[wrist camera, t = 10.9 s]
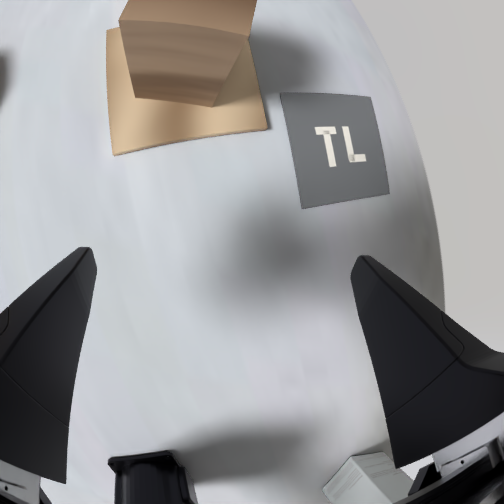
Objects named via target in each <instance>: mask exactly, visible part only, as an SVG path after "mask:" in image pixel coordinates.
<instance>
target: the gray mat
mask: <svg viewBox="0 0 504 504" xmlns="http://www.w3.org/2000/svg"><path fill="white" fill-rule="evenodd" d="M280 97H281V102H282V106H283V111H284V116H285V120H286V125H287V130H288V135H289V140H290V145H291V150H292V155H293V161H294V166H295V171H296V177H297V183H298V188H299V194H300V200H301V206H302V209H306V208H311V207H317V206H322V205H328V204H333V203H339V202H344V201H350V200H356V199H362V198H368V197H374V196H380V195H386V194H390V192H389V185H388V178H387V172H386V166H385V160H384V155H383V149H382V144H381V139H380V135H379V130H378V125H377V121H376V117H375V113H374V109H373V105H372V101H371V97H366V96H356V95H344V94H327V93H280Z"/></svg>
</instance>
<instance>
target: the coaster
mask: <svg viewBox="0 0 504 504" xmlns="http://www.w3.org/2000/svg"><path fill="white" fill-rule="evenodd" d="M106 76H107V99H108V113H109V125H110V135H111V144H112V153H113V155H114V156H118V155H122V154H126V153H130V152H134V151H138V150H143V149H147V148H152V147H156V146H161V145H166V144H171V143H177V142H182V141H188V140H194V139H200V138H206V137H213V136H220V135H228V134H236V133H244V132H254V131H264V130H266V129H267V123H266V118H265V113H264V108H263V103H262V99H261V94H260V89H259V85H258V80H257V75H256V71H255V67H254V62H253V58H252V54H251V49H250V45H249V41H248V39H247V41H246V43H245V44H244V46H243V48H242V50H241V52H240V53H239V55H238V57H237V59H236V61H235V63H234V64H233V66H232V68H231V70H230V72H229V74H228V76H227V78H226V80H225V82H224V84H223V86H222V88H221V90H220V92H219V94H218V96H217V98H216V100H215V102H214V104H213V106H212V108H211V107H205V106H199V105H192V104H185V103H178V102H170V101H162V100H152V99H141V98H135V95H134V91H133V87H132V82H131V78H130V74H129V70H128V65H127V61H126V56H125V51H124V46H123V41H122V36H121V31H120V27H117V28H113V29H109V30H107V36H106Z"/></svg>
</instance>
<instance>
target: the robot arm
mask: <svg viewBox="0 0 504 504" xmlns="http://www.w3.org/2000/svg"><path fill="white" fill-rule="evenodd" d="M96 275H97V266H96V262H95V259H94V255H93V251H92V249H91V248H90V247H79V248H77V249H76V250H75V251H73V252H72V253H71V254H70V255H68V256H67V257H66V258H64V259H63V260H62V261H61V262H59V263H58V264H57V265H56V266H54V267H53V268H52V269H51V270H49V271H48V272H47V273H46V274H45V275H43V276H42V277H41V278H40V279H39V280H37V281H36V282H35V283H34V284H33V285H31V286H30V287H29V288H28V289H27V290H26V291H25V292H23V293H22V294H21V295H20V296H19V297H18V298H17V299H16V300H14V301H13V302H12V303H11V304H10V305H9V307H7V308H6V309H5V310H4V311H3V312H2V313H0V504H52V503H51V502H50V500H49V499H48V497H47V496H46V494H45V493H44V492H43V490H42V489H41V487H40V479H41V477H44V478H47V479H50V480H53V481H56V482H60V483H63V484H66V471H67V447H68V433H69V428H68V427H69V421H70V412H71V404H72V397H73V390H74V384H75V378H76V373H77V367H78V362H79V357H80V352H81V347H82V343H83V339H84V334H85V330H86V326H87V322H88V318H89V314H90V309H91V303H92V297H93V291H94V285H95V280H96ZM351 283H352V288H353V292H354V297H355V302H356V307H357V311H358V316H359V319H360V323H361V326H362V329H363V332H364V336H365V339H366V343H367V346H368V350H369V353H370V357H371V361H372V364H373V368H374V372H375V376H376V380H377V384H378V388H379V392H380V396H381V400H382V404H383V409H384V413H385V418H386V423H387V428H388V433H389V438H390V443H391V448H392V454H393V460H394V465H395V469H398V468H400V467H403V466H406V465H408V464H411V463H413V462H415V461H418V460H420V459H422V458H424V457H426V456H429V455H431V454H432V456H433V460H434V462H432V463H430V464H429V465H427V466H425V467H423V468H421V469H419V472H418V474H417V476H416V478H415V480H414V482H413V484H412V487H411V489H410V491H409V493H408V497H406V498H404V499H402V500H399V501H397V502H395V503H393V504H504V353H501V352H497V351H494V350H493V349H491V348H489V347H488V346H487V345H485V344H484V343H482V342H481V341H480V340H479V339H477V338H476V337H474V336H473V335H472V334H471V333H469V332H468V331H467V330H465V329H464V328H463V327H461V326H460V325H459V324H458V323H456V322H455V321H454V320H453V319H451V318H450V317H449V316H448V315H446V314H445V313H444V312H443V311H440V309H439V308H438V307H437V306H435V305H434V304H433V303H432V302H430V301H429V300H428V299H427V298H425V297H424V296H423V295H422V294H420V293H419V292H418V291H416V290H415V289H414V288H413V287H411V286H410V285H409V284H407V283H406V282H405V281H403V280H402V279H401V278H399V277H398V276H397V275H395V274H394V273H393V272H391V271H390V270H389V269H387V268H386V267H385V266H383V265H382V264H381V263H379V262H378V261H377V260H375V259H374V258H372V257H371V256H368V255H361V256H359V257H358V258H357V260H356V262H355V265H354V267H353V269H352V272H351ZM167 456H169V457H167ZM108 465H109V466H110V468H111V469H112V470H113V471H114V472H115V474H116V476H115V501H114V504H198V501H197V497H196V493H195V488H194V484H193V480H192V478H191V477H190V475H189V474H188V472H187V470H186V469H185V467H183V466H180V465H179V463H178V462H177V460H176V458H175V457H174V455H173V454H172V453H171V452H161V453H155V454H148V455H140V456H132V457H122V458H111V459H108Z"/></svg>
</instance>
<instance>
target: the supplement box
mask: <svg viewBox="0 0 504 504" xmlns="http://www.w3.org/2000/svg"><path fill="white" fill-rule="evenodd" d="M413 482H414V481H413V480H412V479H411V478H410V477H409V476H408V475H407V474H406V473H405V472H404V471H402V470H401V469H400V468H398V469H395V465H394V462H393V461H392V460H391V459H390V458H389V457H388V456H387V455H386V454H385V453H384V452H379V453H373V454H366V455H359V456H351V457H350V458H349V459H348V460H347V461H346V463H345V464H344V465H343V466H342V467H341V468H340V470H339V471H338V472H337V473H336V474H335V475H334V476H333V478H332V479H331V480H330V481H329V482H328V483H327V484H326V485H325V487H324V488H323V489H322V491H323V492H324V494H325V495H326V497H327V498H328V499H329V501H330V502H331V504H393V503H395V502H397V501H399V500H402V499H404V498H406V497H408V493H409V491H410V489H411V487H412V484H413Z"/></svg>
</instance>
